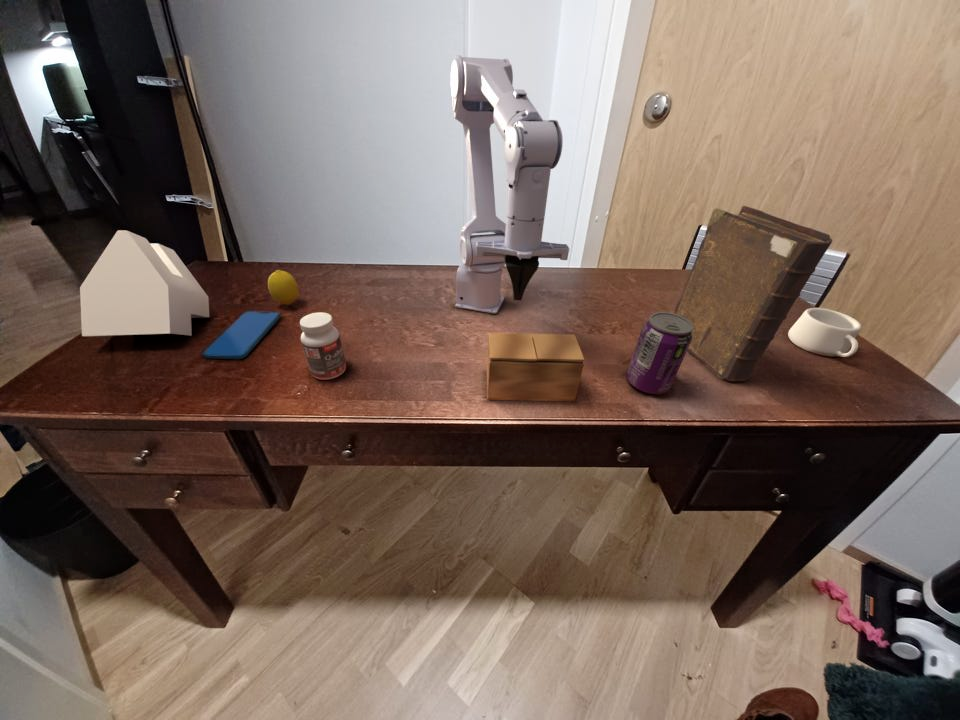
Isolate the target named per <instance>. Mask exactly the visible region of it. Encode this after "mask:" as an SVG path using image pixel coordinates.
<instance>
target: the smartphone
mask: <svg viewBox="0 0 960 720" xmlns="http://www.w3.org/2000/svg"><path fill="white" fill-rule="evenodd" d="M280 318H281V314H280V312H278V311H259V310H248V311H245V312H243V313H242V314H241V315H240V316H239V317H238V318H237V319H235V321H234V322H233V323H232V324H231V325H230V326H228V328H226V329H225V330H224V331H223V332H222V333H221V334H220V335H219V336H218V337H217V338H216V339H215V340H214V341H213V342H212V343H211V344H209V346H208V347H206V349H205V350H203V352H202V356H203V357H204V358H205V359H219V360H220V359H221V360H223V359H224V360H241V359H242V360H243V359H244V358H246V357H247V356H248V355H249V354H250V353H251V351H253V349H254V348H255V347H256V346H257V344H258V343H260V341H261V340H262V339H263V338H264V337H265V335H267V333H269V331H270V329H272V327H273V326H274V325H275V324H276V323H277V322H278V321H279V320H280Z"/></svg>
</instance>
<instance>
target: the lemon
mask: <svg viewBox="0 0 960 720" xmlns="http://www.w3.org/2000/svg"><path fill="white" fill-rule="evenodd" d="M267 288H268V289H267V290H268V291H269V294H270V296H271V298H272V299H273V300H274V301H275V302H277V303H280V304H284V305H286V306H290V305H291V304H292V303H294V302H295V301H296V300H297V299H298V297H299V286H298V282H297V281H296V279H295V278H294V276H293V275H292V274H291V273H289V272H288V271H284V270H280V269H276V270H275V271H273V272H272V273H271V274H270V275H269V277H268V278H267Z"/></svg>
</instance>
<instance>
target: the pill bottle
mask: <svg viewBox="0 0 960 720" xmlns="http://www.w3.org/2000/svg"><path fill="white" fill-rule="evenodd" d="M299 325H300V329H301V332H302V333H301V334H300V342H301V345H302V348H303V352H304V355H305V358H306V361H307V362H306V363H307V365H308V368H309V371H310V374H311V376H312V377H314V379H317V380H321V381H326V380H327V381H328V380H334V379H335V378H338V377H340V376H341V375H343V374H344V373H345V371H346V369H347V362H346V358H345V352H344V349H343V344H342V341H341V336H340V332H339V330H338V328H336V326H334V325H335V324H334V320H333V316H332V315H331V314H330V313H327V312H322V311H321V312H320V311H319V312H312V313H309V314H307V315H305V316H303V317H301V318H300V320H299Z"/></svg>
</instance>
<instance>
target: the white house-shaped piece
mask: <svg viewBox="0 0 960 720" xmlns="http://www.w3.org/2000/svg"><path fill="white" fill-rule="evenodd" d="M79 297H80V299H79V300H80V301H79V303H80V322H81V323H80V324H81V337H87V338H101V339H112V336H133V335H137V336H138V335H164V334H165V335H166V334H168V335H169V334H172V335H180V336H181V335H184V336H190V337H192V336H193V333H192V319H195V318H197V319H198V318H199V319H200V318H210V301H209V295H208V294H207V293H206V292H205V290H204V288H202V286H201V285H200V283H199V282H198V281H197V279H196V278H195V277H194V275H193V274H192V273H191V271H190V270H189V269H188V268H187V266H186V265H185V263H184V262H183V261H182V259H181V258H180V256H179V255H178V254H177V253H176V251H175V249H172V248H170V247H167V246H165V245H163V244H161V243H158V242H157V243H156V242H155V243H151V242H149V240H148V239H147V238H146V237H143V236H141V235H139V234H136V233H135V232H131V231H129V230H125V229H124V230H122V229H120V230H119V229H118V230H117V231H116V232H115V234H114V235H113V237H112V238H111V240H110V241H109V243H108V244H107V246H106V247H105V249H104V250H103V252H102V253H101V255H100V256H99V258H98V259H97V261H96V262H95V264H94V265H93V267H92V268H91V270H90V272H89V273H88V274H87V276H86V278H85V279H84V281H83V282H82V283H81V285H80V286H79Z"/></svg>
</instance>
